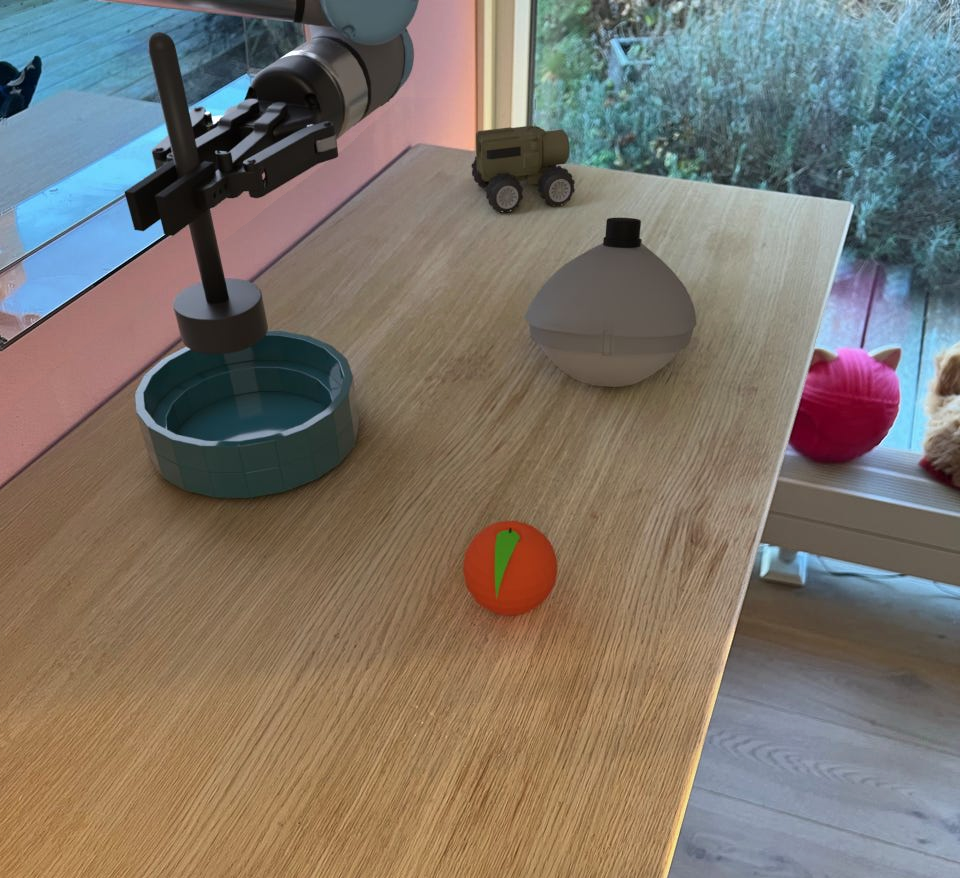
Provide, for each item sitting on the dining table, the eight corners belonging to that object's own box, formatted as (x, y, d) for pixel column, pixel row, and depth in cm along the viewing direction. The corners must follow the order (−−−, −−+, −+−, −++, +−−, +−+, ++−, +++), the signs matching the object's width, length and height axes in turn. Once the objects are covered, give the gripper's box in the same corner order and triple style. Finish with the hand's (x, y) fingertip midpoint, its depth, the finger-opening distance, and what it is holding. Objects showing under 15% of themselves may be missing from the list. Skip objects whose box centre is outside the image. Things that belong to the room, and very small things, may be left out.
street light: (689, 415, 90) (709, 244, 83) (511, 403, 92) (517, 236, 85) (686, 342, 116) (701, 208, 109) (547, 334, 118) (554, 202, 111)
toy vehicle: (470, 185, 134) (466, 84, 125) (552, 175, 136) (554, 75, 127) (490, 218, 127) (488, 113, 118) (577, 206, 128) (581, 103, 120)
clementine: (545, 651, 74) (546, 577, 69) (451, 638, 76) (446, 564, 71) (563, 578, 80) (566, 505, 75) (475, 567, 81) (473, 494, 76)
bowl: (110, 480, 91) (90, 422, 86) (221, 374, 103) (208, 318, 98) (299, 524, 86) (288, 464, 81) (392, 406, 98) (386, 349, 93)
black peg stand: (164, 346, 83) (83, 44, 68) (210, 306, 88) (143, 14, 72) (240, 360, 81) (174, 52, 66) (283, 319, 86) (230, 21, 70)
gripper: (389, 157, 89) (251, 279, 73) (238, 139, 93) (77, 251, 77) (381, 61, 83) (230, 170, 68) (221, 46, 87) (44, 146, 72)
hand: (149, 213), depth 73 cm, fingers closed on black peg stand, 2 cm apart
